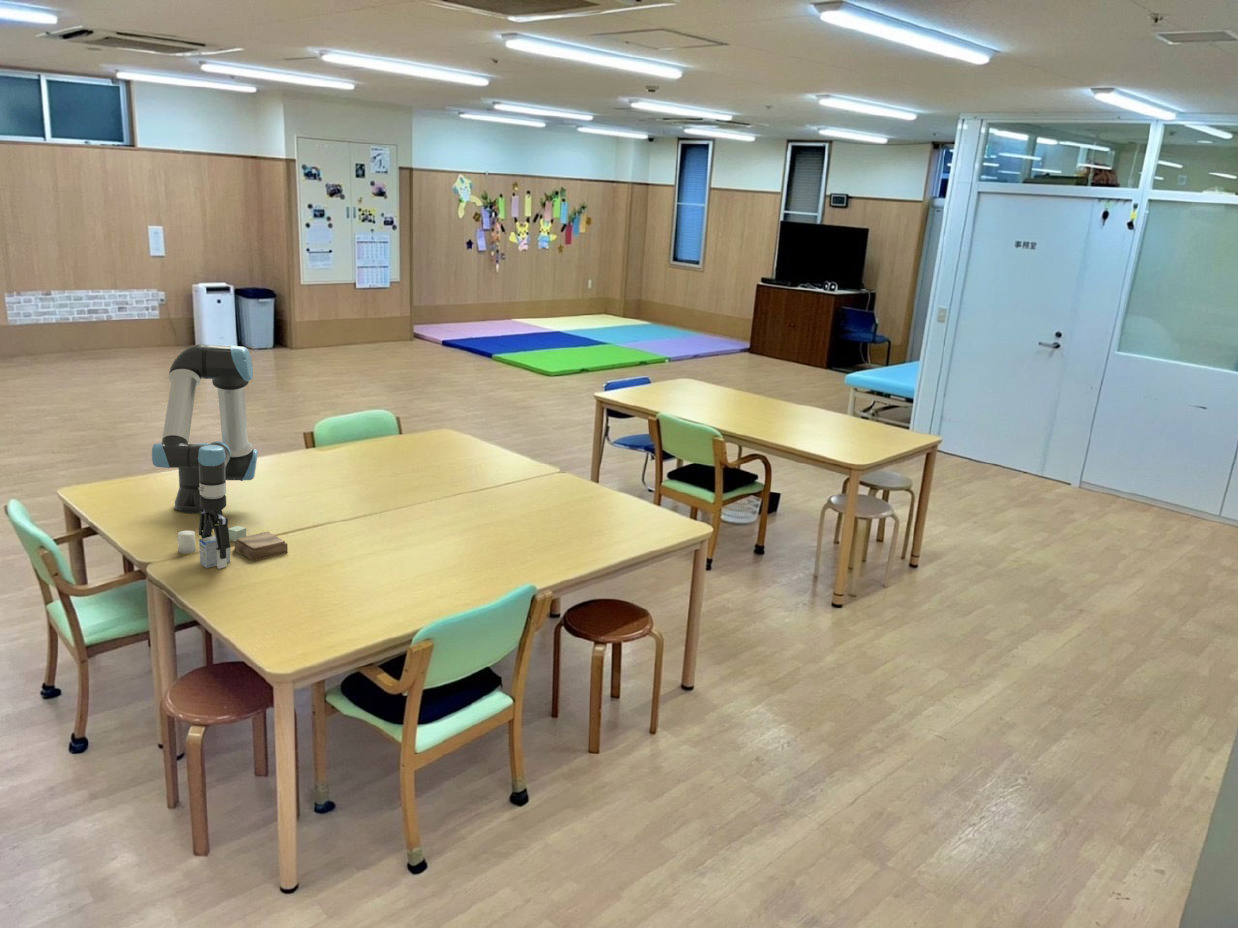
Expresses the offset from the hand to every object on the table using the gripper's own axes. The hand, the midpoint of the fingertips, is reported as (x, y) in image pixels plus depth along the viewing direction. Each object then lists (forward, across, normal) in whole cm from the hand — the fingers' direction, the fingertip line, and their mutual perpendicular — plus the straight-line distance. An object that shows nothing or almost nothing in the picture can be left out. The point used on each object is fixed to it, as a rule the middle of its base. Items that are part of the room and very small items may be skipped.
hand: (215, 562), depth 287 cm
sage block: (0, -15, +15) cm, 21 cm away
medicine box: (+1, 0, 0) cm, 1 cm away
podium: (0, -1, +16) cm, 16 cm away
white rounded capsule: (0, -15, -2) cm, 15 cm away
